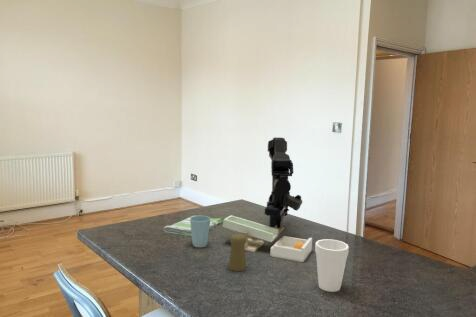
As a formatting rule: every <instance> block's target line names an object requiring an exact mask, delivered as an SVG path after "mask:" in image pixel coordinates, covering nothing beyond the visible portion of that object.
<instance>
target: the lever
mask: <svg viewBox="0 0 476 317" xmlns="http://www.w3.org/2000/svg"><path fill="white" fill-rule="evenodd" d="M222 221H223V223H222V228H225V229H229V230H231V231H233V232H238V233H240V234H242V232H247V233H248V236H253V237H257V239H259V240H262V241H267V242H270V243H273V241H275V240H276V239H277V238H278V236H279V234H280V233H281V232H283V231H284V229H285V227H283V226H284V225H282V226H281V227H280V228H278V227H277V225H276V226H275V227H274V228H273V227H269V225H264V224H262V223H259V222H255V221H252V220H249V219H245V218H243V217H239V216H235V215H228V216H227V217H225V218H224V219H222Z"/></svg>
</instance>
